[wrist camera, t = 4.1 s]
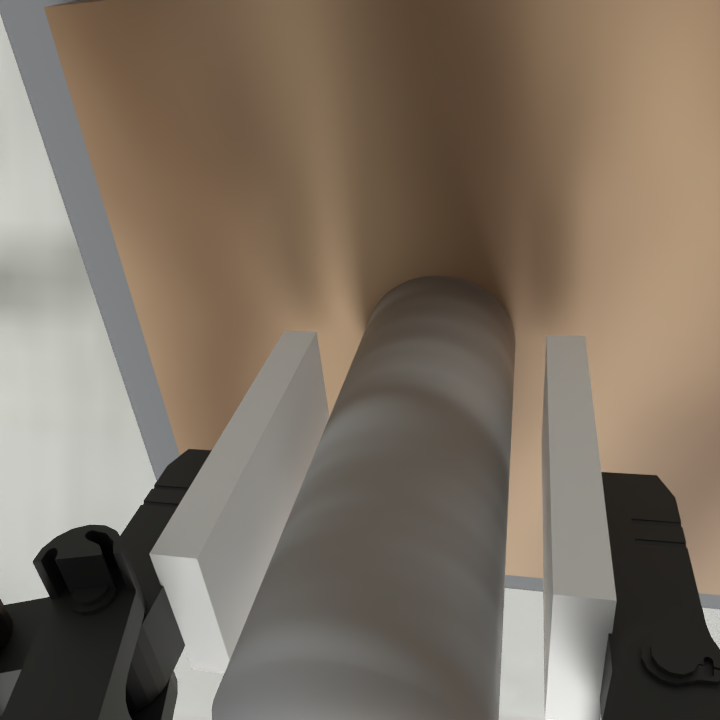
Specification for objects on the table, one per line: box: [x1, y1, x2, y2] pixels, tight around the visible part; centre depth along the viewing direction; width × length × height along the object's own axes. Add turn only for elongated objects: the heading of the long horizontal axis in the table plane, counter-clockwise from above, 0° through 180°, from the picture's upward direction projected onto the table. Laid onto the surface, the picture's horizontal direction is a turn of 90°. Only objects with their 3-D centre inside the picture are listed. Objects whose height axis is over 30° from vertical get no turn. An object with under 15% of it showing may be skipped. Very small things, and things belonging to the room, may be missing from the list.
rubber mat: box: [0, 0, 720, 609], centre depth 18 cm, size 20×20×1 cm
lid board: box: [44, 0, 720, 720], centre depth 13 cm, size 16×16×11 cm
